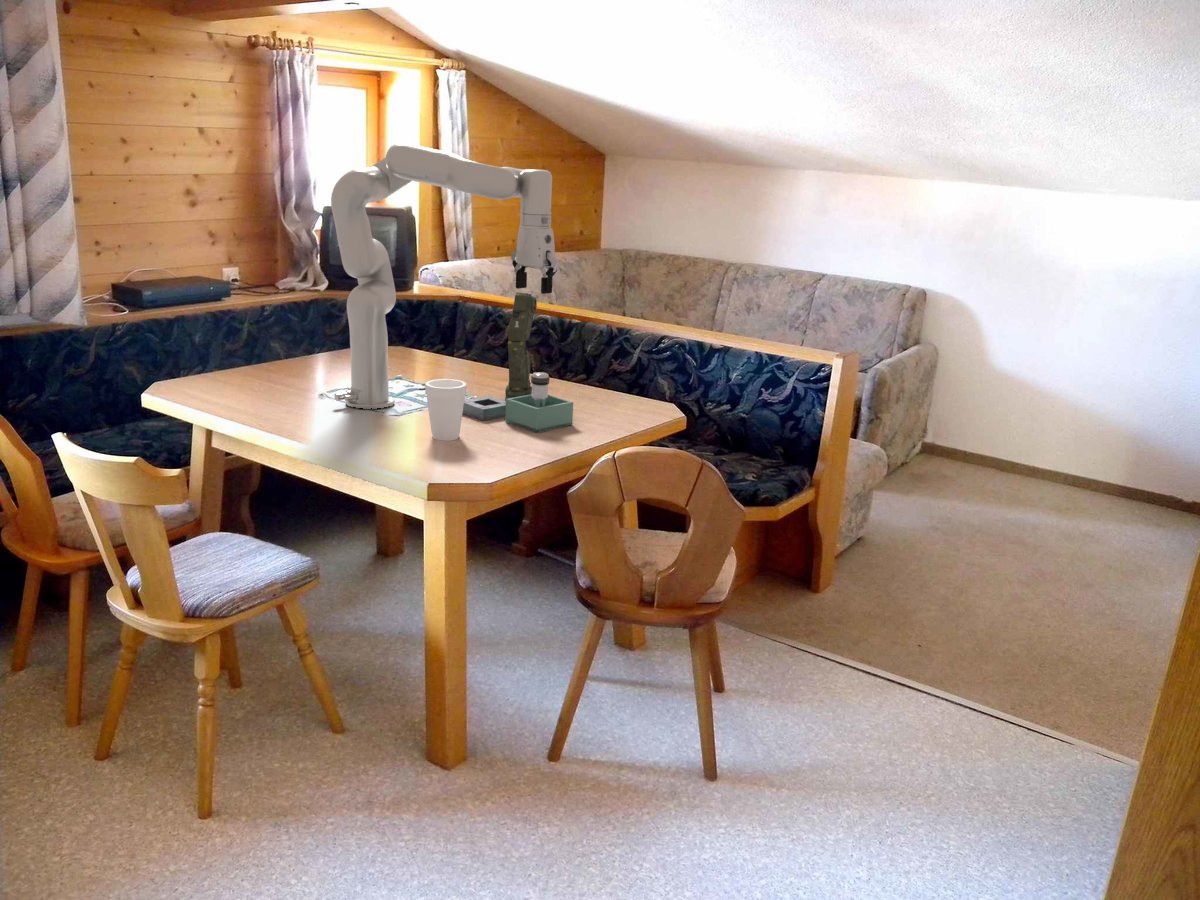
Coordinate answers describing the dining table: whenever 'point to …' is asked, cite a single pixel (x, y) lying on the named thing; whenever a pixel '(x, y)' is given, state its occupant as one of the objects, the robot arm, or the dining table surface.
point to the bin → (539, 413)
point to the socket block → (485, 408)
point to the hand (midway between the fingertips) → (533, 290)
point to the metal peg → (539, 389)
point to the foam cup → (445, 407)
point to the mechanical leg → (520, 345)
